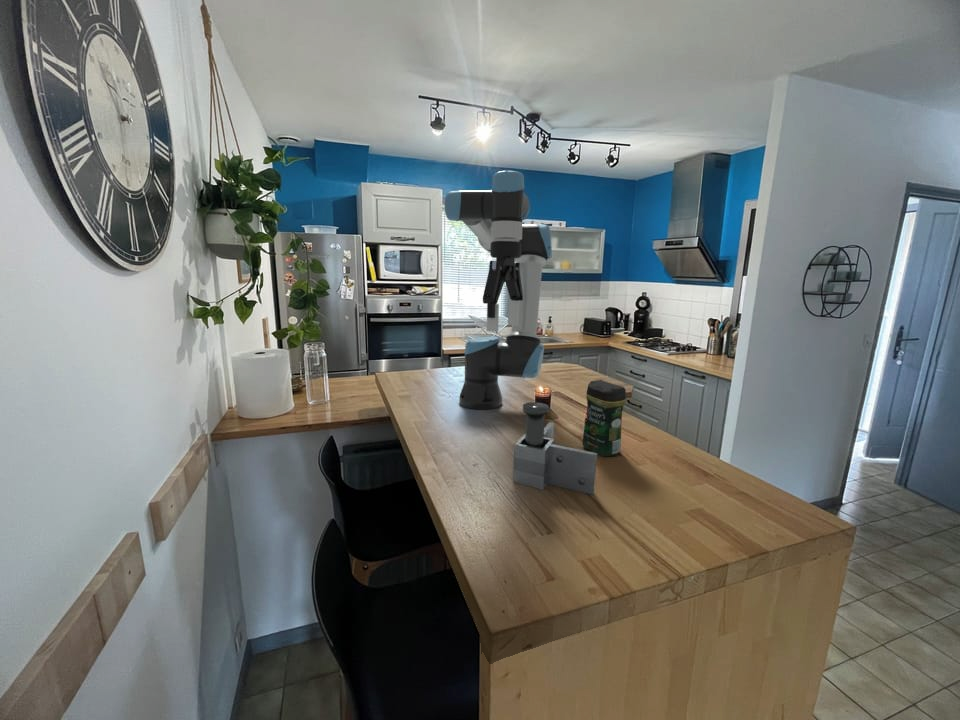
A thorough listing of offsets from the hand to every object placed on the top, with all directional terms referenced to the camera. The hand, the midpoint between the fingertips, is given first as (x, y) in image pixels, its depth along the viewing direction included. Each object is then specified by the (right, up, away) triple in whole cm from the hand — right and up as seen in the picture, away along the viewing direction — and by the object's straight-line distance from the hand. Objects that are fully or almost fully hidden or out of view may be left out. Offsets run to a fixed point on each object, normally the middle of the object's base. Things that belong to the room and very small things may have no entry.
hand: (503, 328), depth 105 cm
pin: (+6, -35, -11) cm, 37 cm away
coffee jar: (+26, -32, +5) cm, 42 cm away
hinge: (+13, -35, -9) cm, 38 cm away
